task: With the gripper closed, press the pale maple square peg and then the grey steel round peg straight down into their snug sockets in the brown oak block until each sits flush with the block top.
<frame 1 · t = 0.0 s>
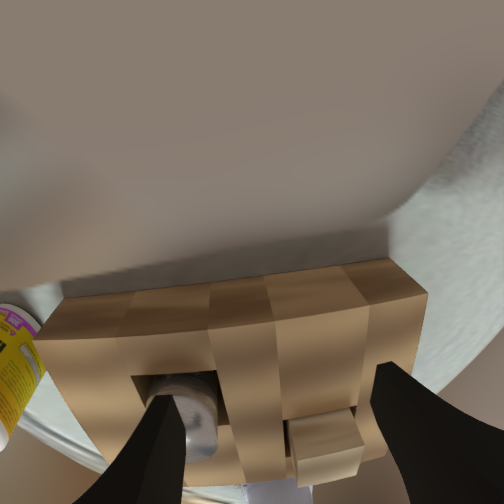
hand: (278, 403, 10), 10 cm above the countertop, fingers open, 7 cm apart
oak block: (237, 377, 23), on the countertop
supplement bottle: (21, 334, 20), on the countertop
peg maple: (321, 440, 18), point 6 cm above the countertop, slide at 0.0 cm
peg steel: (181, 410, 16), point 6 cm above the countertop, slide at 0.0 cm
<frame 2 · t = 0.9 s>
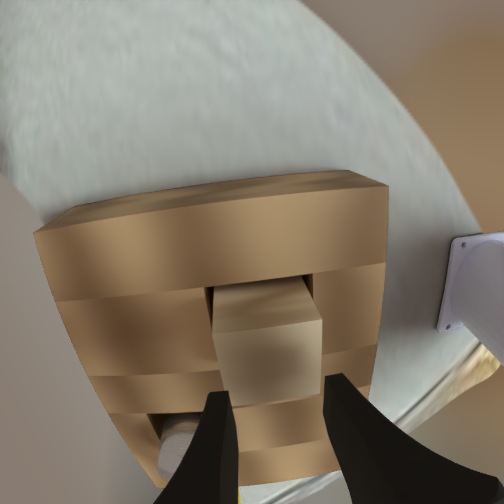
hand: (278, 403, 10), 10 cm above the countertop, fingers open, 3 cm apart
oak block: (231, 348, 21), on the countertop
peg maple: (264, 333, 14), point 6 cm above the countertop, slide at 0.0 cm
peg steel: (193, 442, 17), point 6 cm above the countertop, slide at 0.0 cm
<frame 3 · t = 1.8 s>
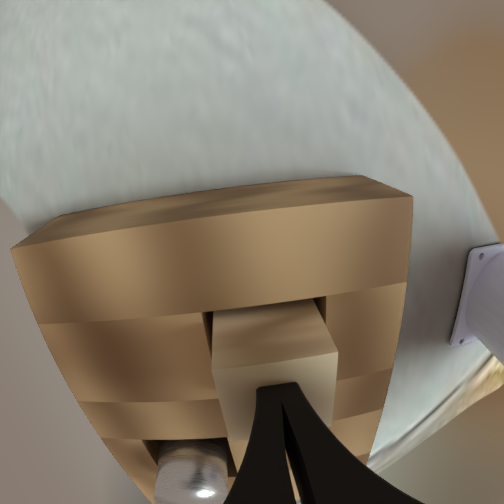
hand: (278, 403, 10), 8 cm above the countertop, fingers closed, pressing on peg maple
oak block: (233, 368, 19), on the countertop
peg maple: (270, 360, 13), point 5 cm above the countertop, slide at 0.1 cm, touching gripper
peg steel: (192, 469, 15), point 6 cm above the countertop, slide at 0.0 cm
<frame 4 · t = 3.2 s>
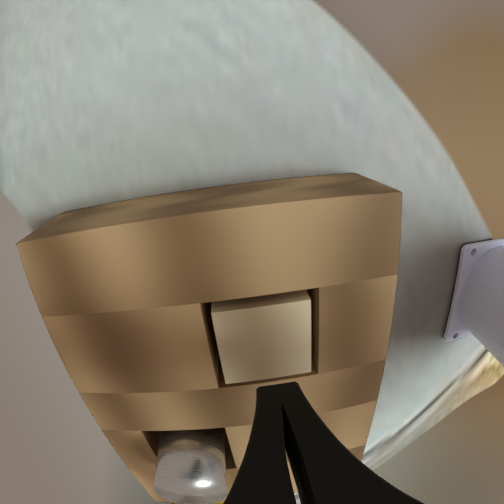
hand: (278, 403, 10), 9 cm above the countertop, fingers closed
oak block: (230, 361, 20), on the countertop
peg maple: (259, 316, 16), point 3 cm above the countertop, slide at 2.8 cm
peg steel: (191, 460, 16), point 6 cm above the countertop, slide at 0.0 cm
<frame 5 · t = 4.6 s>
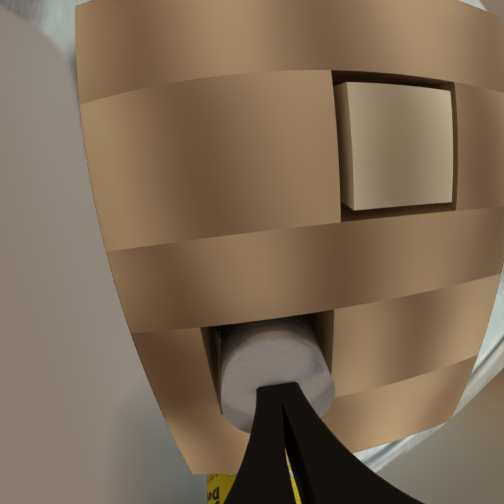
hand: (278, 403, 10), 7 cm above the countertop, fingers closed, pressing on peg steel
oak block: (315, 243, 16), on the countertop
supplement bottle: (249, 452, 22), on the countertop
peg maple: (376, 141, 11), point 3 cm above the countertop, slide at 2.8 cm
peg steel: (270, 360, 13), point 4 cm above the countertop, slide at 1.2 cm, touching gripper
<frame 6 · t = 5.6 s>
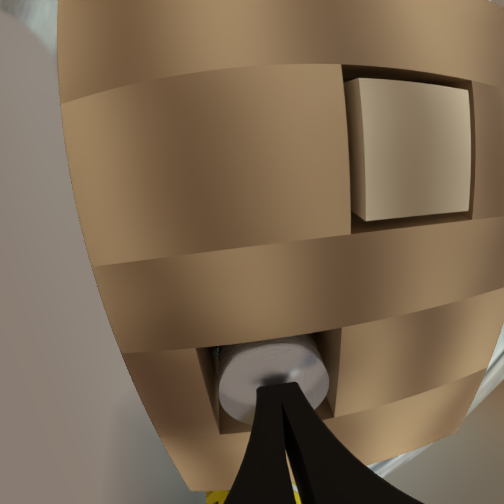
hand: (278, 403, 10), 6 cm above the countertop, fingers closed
oak block: (319, 252, 15), on the countertop
supplement bottle: (249, 464, 21), on the countertop
peg maple: (387, 143, 10), point 3 cm above the countertop, slide at 2.8 cm
peg steel: (267, 353, 13), point 3 cm above the countertop, slide at 2.8 cm
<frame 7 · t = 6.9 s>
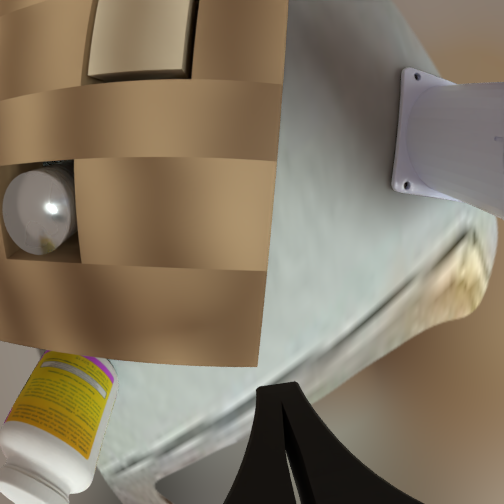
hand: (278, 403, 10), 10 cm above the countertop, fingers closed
oak block: (121, 139, 16), on the countertop
supplement bottle: (83, 368, 22), on the countertop
peg maple: (150, 40, 12), point 3 cm above the countertop, slide at 2.8 cm
peg steel: (55, 202, 15), point 3 cm above the countertop, slide at 2.8 cm
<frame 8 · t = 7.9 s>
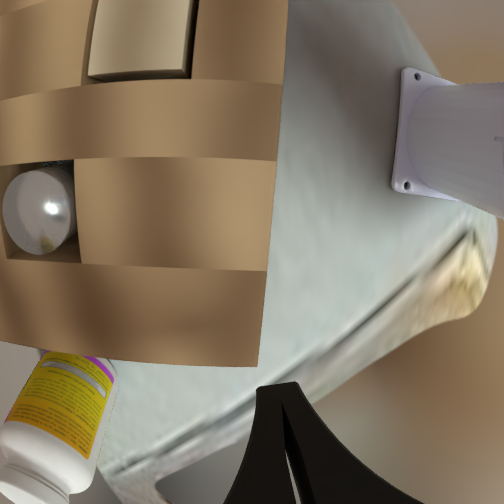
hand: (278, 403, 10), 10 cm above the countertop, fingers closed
oak block: (121, 139, 16), on the countertop
supplement bottle: (83, 368, 22), on the countertop
peg maple: (150, 40, 12), point 3 cm above the countertop, slide at 2.8 cm
peg steel: (55, 202, 15), point 3 cm above the countertop, slide at 2.8 cm
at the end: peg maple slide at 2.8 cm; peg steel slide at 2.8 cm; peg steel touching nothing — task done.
